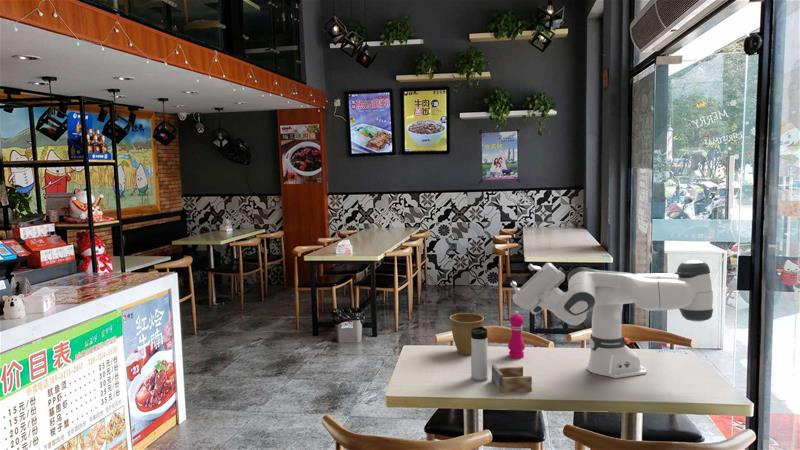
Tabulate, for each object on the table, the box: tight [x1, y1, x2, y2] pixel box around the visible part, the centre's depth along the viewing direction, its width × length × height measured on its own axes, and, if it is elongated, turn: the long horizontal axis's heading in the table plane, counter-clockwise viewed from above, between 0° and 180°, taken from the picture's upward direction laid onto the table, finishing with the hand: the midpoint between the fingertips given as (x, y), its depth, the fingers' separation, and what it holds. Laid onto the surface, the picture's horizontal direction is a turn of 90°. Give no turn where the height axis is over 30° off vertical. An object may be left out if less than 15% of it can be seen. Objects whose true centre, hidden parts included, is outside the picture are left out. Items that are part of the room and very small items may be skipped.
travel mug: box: [470, 326, 489, 383], centre depth 234 cm, size 6×7×20 cm
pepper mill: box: [507, 310, 526, 359], centre depth 260 cm, size 7×7×20 cm
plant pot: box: [449, 312, 485, 356], centre depth 266 cm, size 15×15×16 cm
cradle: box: [491, 363, 533, 394], centre depth 227 cm, size 12×12×7 cm
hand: (520, 274), depth 223 cm, fingers open, 8 cm apart
